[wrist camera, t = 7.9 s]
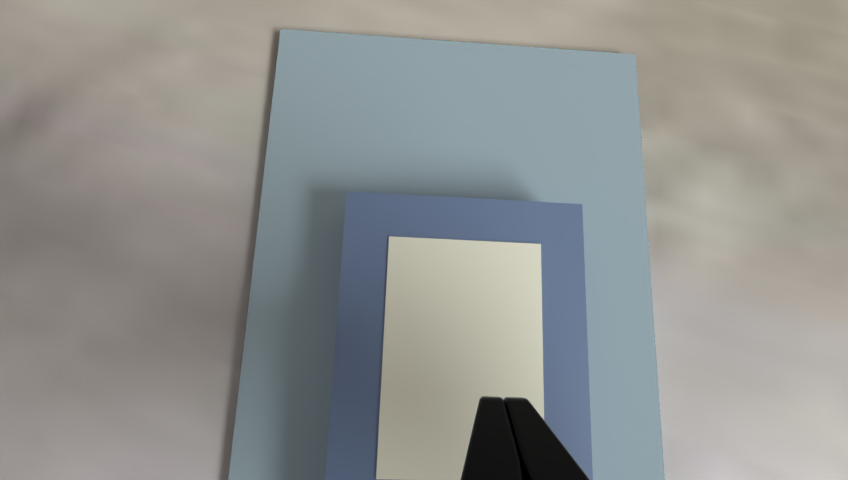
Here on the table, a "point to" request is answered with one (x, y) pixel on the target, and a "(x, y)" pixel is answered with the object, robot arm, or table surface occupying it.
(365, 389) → the box
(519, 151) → the mat
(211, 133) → the table surface
